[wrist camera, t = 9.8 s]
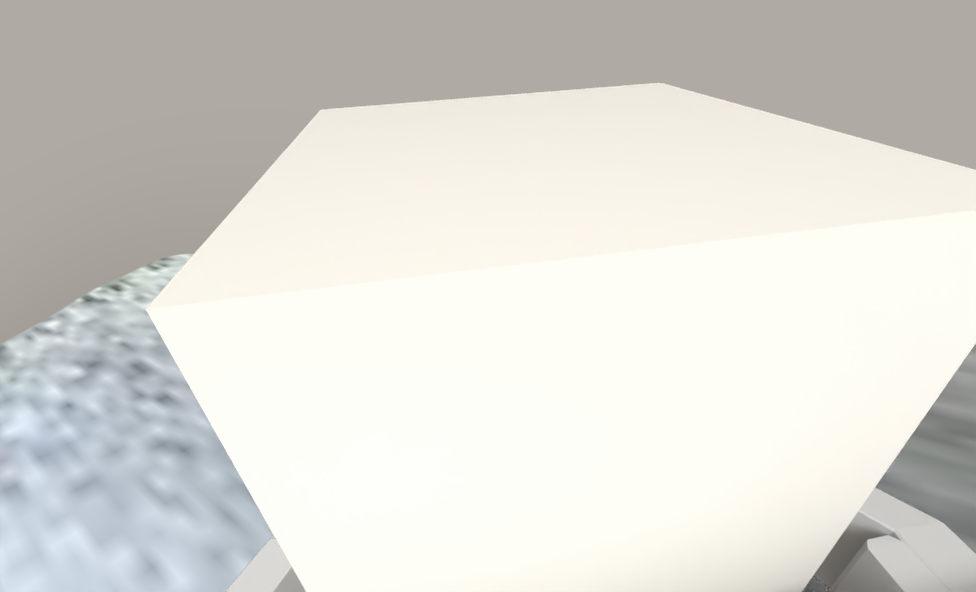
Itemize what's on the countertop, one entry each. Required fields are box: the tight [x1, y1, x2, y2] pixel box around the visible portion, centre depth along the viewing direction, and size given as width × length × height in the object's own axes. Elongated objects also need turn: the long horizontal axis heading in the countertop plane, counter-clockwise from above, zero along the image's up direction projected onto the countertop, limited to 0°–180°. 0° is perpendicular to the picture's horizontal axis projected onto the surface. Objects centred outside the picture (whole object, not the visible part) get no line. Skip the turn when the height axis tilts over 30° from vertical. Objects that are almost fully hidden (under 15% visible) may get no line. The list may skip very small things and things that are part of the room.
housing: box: [146, 83, 976, 592], centre depth 9 cm, size 6×6×14 cm
